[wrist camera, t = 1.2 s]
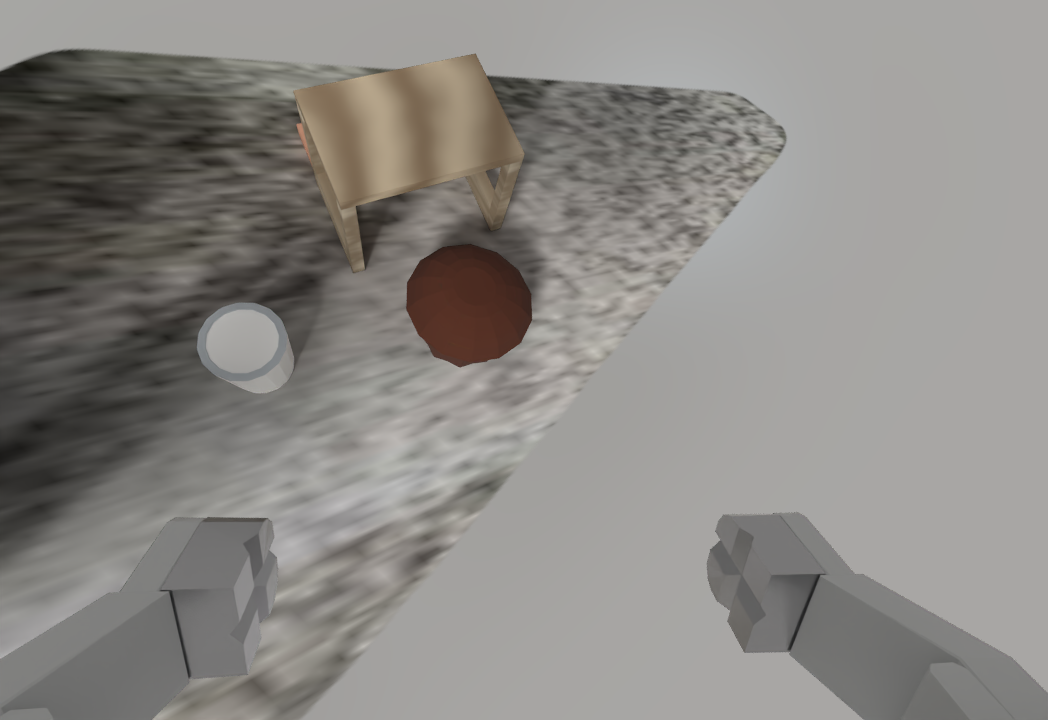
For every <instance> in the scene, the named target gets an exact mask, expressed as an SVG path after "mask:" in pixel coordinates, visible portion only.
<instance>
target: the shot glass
mask: <svg viewBox="0 0 1048 720" xmlns="http://www.w3.org/2000/svg"><path fill="white" fill-rule="evenodd" d="M197 351H198V353H199V356H200V359H201V362H202V364H203V365H204V366H205V367H206V368H207V369H208V370H209V371H210V372H212V373H213V374H214V375H215V376H217V377H219V378H221V379H223V380H225V381H227V382H229V383H231V384H233V385H236V386H238V387H240V388H242V389H244V390H247V391H249V392H252V393H268V392H271V391H274V390H276V389H279V388H280V387H281V386H282V385H284V384H285V383H286V382H287V381H288V380H289V378H290V376H291V374H292V372H293V370H294V355H293V352H292V349H291V345H290V342H289V338H288V335H287V332H286V329H285V327H284V325H283V322H282V320H281V319H280V318H279V317H278V316H277V315H276V314H275V313H274V312H273V311H272V310H271V309H269V308H267V307H264V306H261V305H259V304H256V303H234V304H231V305H228V306H225V307H222V308H220V309H219V310H217V311H216V312H215V313H213V314H212V315H211V316H210V317H208V318H207V319H206V321H205V323H204V324H203V326H202V328H201V329H200V331H199V333H198V342H197Z"/></svg>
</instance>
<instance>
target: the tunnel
mask: <svg viewBox="0 0 1048 720" xmlns="http://www.w3.org/2000/svg"><path fill="white" fill-rule="evenodd" d="M294 95H295V99H296V103H297V107H298V111H299V115H300V119H301V123H302V127H303V131H304V135H305V139H306V143H307V147H308V151H309V155H310V158H311V162H312V166H313V170H314V174H315V178H316V182H317V185H318V187H319V189H320V192H321V194H322V197H323V199H324V202H325V204H326V207H327V209H328V212H329V214H330V217H331V219H332V222H333V224H334V226H335V229H336V231H337V234H338V236H339V239H340V241H341V244H342V246H343V249H344V251H345V254H346V256H347V258H348V261H349V263H350V266H351V268H352V271H353V273H356V272H359V271H363V270H365V266H364V259H363V252H362V245H361V239H360V232H359V225H358V219H357V212H356V206H358V205H362V204H365V203H369V202H373V201H376V200H380V199H384V198H387V197H391V196H395V195H398V194H402V193H406V192H409V191H413V190H417V189H420V188H424V187H428V186H432V185H435V184H439V183H443V182H446V181H450V180H454V179H457V178H461V177H466V179H467V181H468V183H469V185H470V187H471V189H472V192H473V194H474V196H475V198H476V200H477V202H478V205H479V207H480V209H481V211H482V213H483V215H484V218H485V220H486V222H487V224H488V226H489V228H490V230H491V231H493V230H496V229H500V228H501V226H502V223H503V220H504V217H505V214H506V210H507V207H508V204H509V201H510V198H511V195H512V192H513V189H514V186H515V183H516V179H517V176H518V173H519V170H520V167H521V164H522V161H523V158H524V155H525V153H524V151H523V149H522V147H521V145H520V143H519V141H518V139H517V137H516V135H515V133H514V131H513V129H512V127H511V125H510V123H509V121H508V119H507V117H506V115H505V113H504V111H503V108H502V106H501V104H500V102H499V100H498V98H497V96H496V94H495V92H494V90H493V88H492V86H491V84H490V82H489V80H488V78H487V76H486V74H485V72H484V70H483V68H482V66H481V64H480V62H479V60H478V58H477V56H476V54H471V55H466V56H461V57H457V58H452V59H447V60H442V61H437V62H433V63H427V64H423V65H418V66H412V67H408V68H403V69H398V70H393V71H388V72H383V73H378V74H373V75H368V76H363V77H358V78H354V79H349V80H344V81H339V82H334V83H329V84H324V85H319V86H314V87H309V88H304V89H300V90H295V91H294ZM498 167H501V170H500V173H499V177H498V181H497V184H496V188H495V190H494V188H493V186H492V184H491V182H490V180H489V178H488V176H487V174H486V171H487V170H490V169H494V168H498Z"/></svg>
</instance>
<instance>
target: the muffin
mask: <svg viewBox="0 0 1048 720" xmlns="http://www.w3.org/2000/svg"><path fill="white" fill-rule="evenodd" d="M406 309H407V312H408V314H409V316H410V318H411V320H412V322H413V324H414V326H415V328H416V330H417V332H418V335H419V336H420V337H422V338H423V339H424V340H425V342H426V343H427V344H428V346H429V348H430V350H431V352H432V354H433V356H434V357H436V358H440V359H443V360H446V361H448V362H450V363H452V364H454V365H456V366H458V367H463V366H466V365H469V364H472V363H479V362H486V361H488V360H490V359H497V358H500V357H501V356H503V355H504V354H506V353H507V352H508V351H510V350H511V349H513V348H514V347H516V346H517V345H518V344H520V343H521V341H522V339H523V337H524V335H525V333H526V331H527V329H528V327H529V325H530V323H531V321H532V306H531V293H530V291H529V289H528V287H527V285H526V283H525V282H524V280H523V278H522V276H521V274H520V272H519V270H518V269H516V268H515V267H514V266H513V265H512V264H510V263H509V262H508V261H507V260H505V259H504V258H503V257H502V256H501V255H499V254H498V253H497V252H493V251H490V250H487V249H484V248H481V247H477V246H474V245H471V244H468V245H458V246H447V247H442V248H440V249H439V250H437V251H435V252H434V253H432V254H430V255H429V256H427V257H425V258H424V259H422V260H420V262H419V264H418V265H417V267H416V269H415V270H414V272H413V274H412V275H411V277H410V279H409V281H408V282H407V307H406Z"/></svg>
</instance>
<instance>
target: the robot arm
mask: <svg viewBox="0 0 1048 720" xmlns="http://www.w3.org/2000/svg"><path fill="white" fill-rule="evenodd" d="M715 532H716V533H717V535H718V537H719V539H720V541H719V542H718V543H717V544H716V545H715V546H714V547H713V548H712V549H710V553H709V557H708V561H707V573H708V581H709V584H710V588H711V591H712V592H713V594H714V596H715V598H716V600H717V602H719V603H720V604H721V605H723V606H724V607H726V608H727V609H728V610H730V613H729V617H728V623H729V625H730V627H731V629H732V631H733V632H734V634H735V636H736V638H737V640H738V642H739V644H740V645H741V647H742V649H743V651H744V652H745V653H753V652H755V653H756V652H757V653H758V652H790V656H792V657H793V658H794V659H795V660H796V661H797V662H798V663H800V664H801V665H802V666H803V667H804V668H805V669H806V670H808V671H809V672H810V673H811V674H812V675H813V676H814V677H816V678H817V679H818V680H819V681H820V682H821V683H823V684H824V685H825V686H826V687H827V688H829V690H830V691H832V692H833V693H834V694H835V695H836V696H837V697H839V698H840V699H841V700H842V701H843V702H844V703H845V704H847V705H848V706H849V707H850V708H851V709H852V710H853V711H855V712H856V713H857V714H858V715H859V716H860V717H861V718H863V719H864V720H1048V693H1047V692H1046V691H1045V690H1044V689H1043V688H1042V687H1041V686H1040V685H1039V684H1038V683H1037V682H1036V681H1035V680H1034V679H1033V678H1032V677H1031V676H1030V675H1029V674H1028V673H1027V672H1026V671H1025V670H1024V669H1023V668H1022V667H1021V666H1020V665H1019V664H1018V663H1017V662H1016V661H1015V660H1014V659H1013V658H1012V657H1010V656H1008V655H1006V654H1005V653H1003V652H1001V651H999V650H997V649H996V648H994V647H992V646H990V645H988V644H987V643H985V642H983V641H981V640H979V639H978V638H976V637H974V636H972V635H971V634H969V633H967V632H965V631H963V630H962V629H960V628H958V627H956V626H955V625H953V624H951V623H949V622H948V621H945V620H944V619H942V618H940V617H939V616H937V615H935V614H933V613H931V612H929V611H928V610H926V609H924V608H922V607H921V606H919V605H917V604H915V603H913V602H912V601H910V600H908V599H906V598H905V597H903V596H901V595H899V594H898V593H896V592H894V591H892V590H890V589H888V588H887V587H885V586H883V585H881V584H880V583H878V582H876V581H874V580H873V579H871V578H869V577H867V576H865V575H864V574H854V572H853V571H852V570H851V569H850V568H849V566H848V565H847V564H846V563H845V562H844V561H843V559H842V558H841V557H840V556H839V555H838V554H837V553H836V551H835V550H834V549H833V548H832V547H831V545H830V544H829V543H828V542H827V541H826V540H825V538H824V537H823V536H822V535H821V534H820V533H819V531H818V530H817V529H816V528H815V527H814V526H813V525H812V523H811V522H810V521H809V520H808V519H807V518H806V517H805V516H804V515H802V514H800V513H798V512H796V513H795V512H794V513H773V514H730V515H729V514H728V515H723V516H722V517H721V518H720V520H719V521H718V524H717V528H716V531H715ZM273 539H274V532H273V525H272V521H271V520H269V519H268V518H215V517H207V518H174V519H172V520H170V521H169V522H168V523H166V525H165V526H164V528H163V529H162V531H161V532H160V534H159V535H158V536H157V538H156V539H155V541H154V542H153V544H152V545H151V547H150V548H149V550H148V551H147V553H146V554H145V556H144V557H143V558H142V560H141V561H140V563H139V564H138V566H137V567H136V569H135V570H134V572H133V573H132V575H131V576H130V577H129V579H128V580H127V582H126V583H125V585H124V586H123V588H122V589H121V591H120V592H119V593H108V594H106V595H105V596H103V597H101V598H100V599H98V600H96V601H95V602H93V603H91V604H90V605H88V606H87V607H85V608H83V609H82V610H80V611H78V612H77V613H75V614H73V615H72V616H70V617H69V618H67V619H65V620H64V621H62V622H60V623H59V624H57V625H56V626H54V627H52V628H51V629H49V630H47V631H46V632H44V633H42V634H41V635H39V636H38V637H36V638H34V639H33V640H31V641H29V642H28V643H26V644H25V645H23V646H21V647H20V648H18V649H16V650H15V651H13V652H11V653H10V654H8V655H7V656H5V657H3V658H2V659H0V720H152V719H153V718H154V717H155V716H156V715H157V714H158V713H159V712H160V711H161V710H162V709H163V708H164V707H165V706H166V705H167V704H168V703H169V702H170V701H171V700H172V699H173V698H174V697H175V696H176V695H177V694H178V693H179V692H180V691H181V690H182V689H183V688H184V687H185V686H186V685H187V684H188V683H189V679H199V678H212V677H226V676H240V675H248V673H249V671H250V668H251V665H252V662H253V660H254V657H255V654H256V651H257V649H258V646H259V643H260V640H261V632H260V624H259V623H261V622H262V621H263V620H264V619H265V618H267V617H268V616H269V615H270V612H271V609H272V606H273V603H274V600H275V595H276V589H277V583H278V564H277V557H276V556H275V555H274V554H273V553H272V552H271V551H269V549H270V547H271V544H272V542H273Z"/></svg>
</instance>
